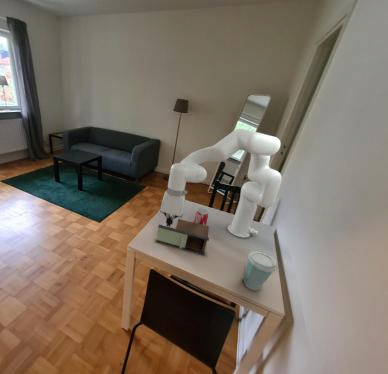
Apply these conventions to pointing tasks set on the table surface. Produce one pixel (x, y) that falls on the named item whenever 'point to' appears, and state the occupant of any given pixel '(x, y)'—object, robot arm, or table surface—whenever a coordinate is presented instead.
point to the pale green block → (171, 237)
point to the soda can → (201, 217)
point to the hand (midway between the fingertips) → (168, 224)
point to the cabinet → (190, 236)
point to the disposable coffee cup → (258, 269)
